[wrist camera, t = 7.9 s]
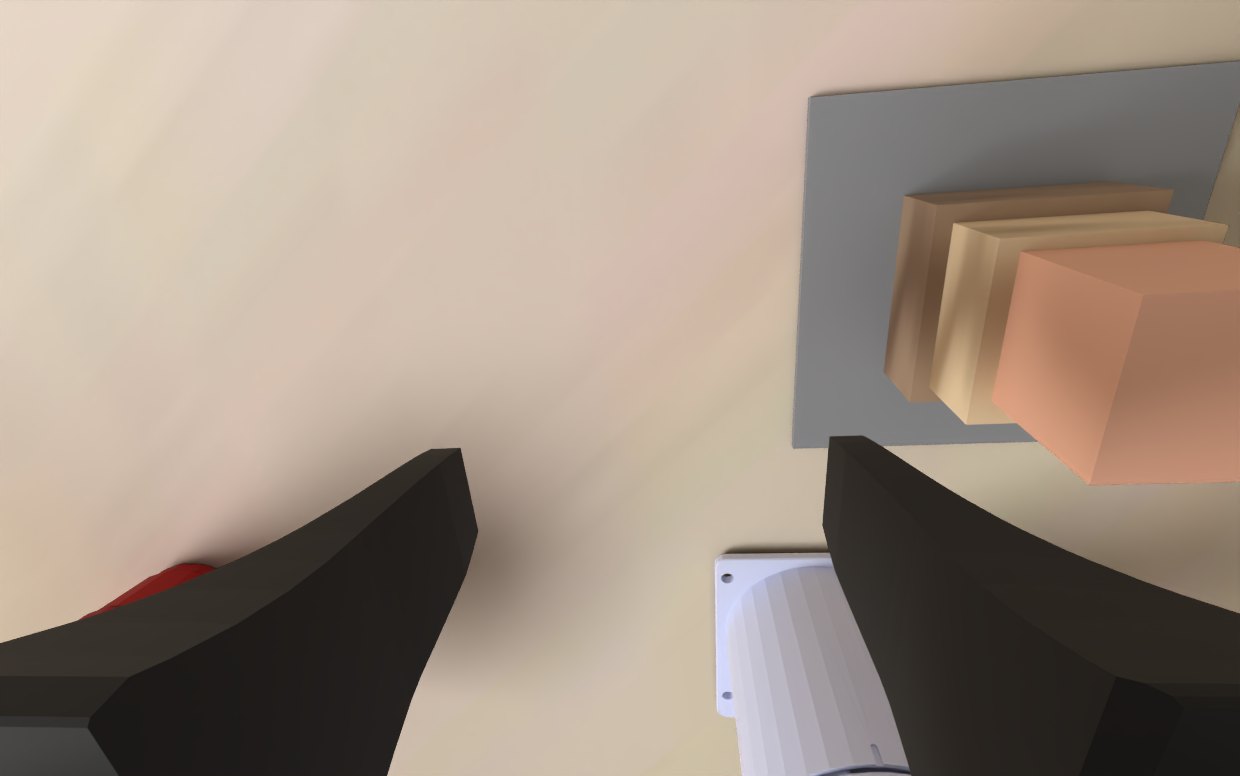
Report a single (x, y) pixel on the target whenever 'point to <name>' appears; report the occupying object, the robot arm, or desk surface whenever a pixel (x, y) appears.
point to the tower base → (929, 251)
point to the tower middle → (987, 283)
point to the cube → (1128, 360)
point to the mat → (967, 161)
